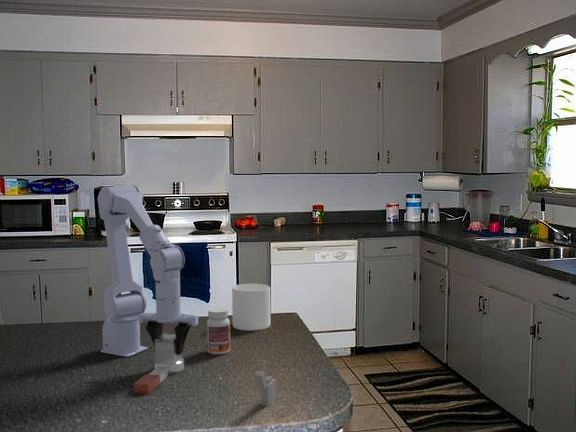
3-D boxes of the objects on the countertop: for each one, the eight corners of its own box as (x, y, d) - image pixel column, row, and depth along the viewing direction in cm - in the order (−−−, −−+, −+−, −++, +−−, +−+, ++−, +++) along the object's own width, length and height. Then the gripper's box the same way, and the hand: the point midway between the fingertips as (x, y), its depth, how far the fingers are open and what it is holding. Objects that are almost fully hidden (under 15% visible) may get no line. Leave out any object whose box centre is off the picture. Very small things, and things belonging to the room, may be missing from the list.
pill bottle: (234, 352, 157) (233, 310, 156) (213, 356, 153) (212, 313, 152) (223, 346, 162) (223, 305, 161) (203, 350, 158) (202, 309, 157)
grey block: (155, 363, 141) (154, 339, 141) (164, 356, 146) (163, 333, 145) (174, 365, 140) (173, 340, 140) (182, 358, 145) (181, 334, 144)
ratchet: (162, 363, 148) (161, 345, 147) (188, 365, 146) (188, 347, 146) (126, 392, 129) (125, 371, 129) (156, 394, 128) (155, 373, 127)
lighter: (268, 397, 126) (268, 361, 126) (276, 398, 126) (276, 362, 125) (254, 410, 120) (253, 372, 119) (261, 411, 119) (261, 373, 118)
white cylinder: (228, 329, 178) (227, 290, 177) (237, 319, 190) (237, 282, 189) (266, 331, 176) (266, 291, 175) (273, 321, 188) (273, 284, 187)
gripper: (132, 299, 140) (134, 355, 141) (190, 302, 137) (191, 359, 138) (145, 293, 147) (146, 346, 148) (201, 295, 144) (202, 350, 145)
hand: (169, 352), depth 143 cm, fingers closed on grey block, 5 cm apart
